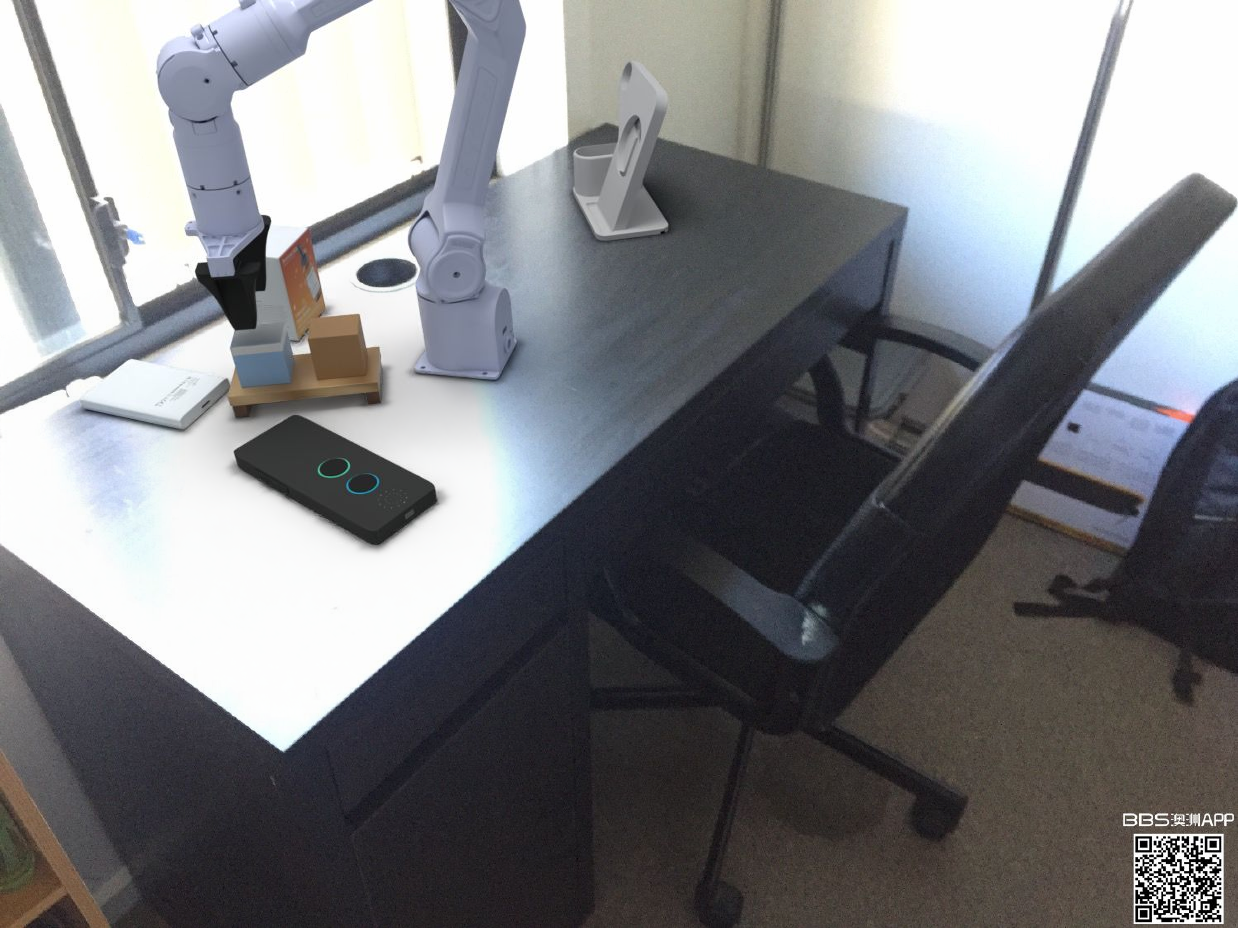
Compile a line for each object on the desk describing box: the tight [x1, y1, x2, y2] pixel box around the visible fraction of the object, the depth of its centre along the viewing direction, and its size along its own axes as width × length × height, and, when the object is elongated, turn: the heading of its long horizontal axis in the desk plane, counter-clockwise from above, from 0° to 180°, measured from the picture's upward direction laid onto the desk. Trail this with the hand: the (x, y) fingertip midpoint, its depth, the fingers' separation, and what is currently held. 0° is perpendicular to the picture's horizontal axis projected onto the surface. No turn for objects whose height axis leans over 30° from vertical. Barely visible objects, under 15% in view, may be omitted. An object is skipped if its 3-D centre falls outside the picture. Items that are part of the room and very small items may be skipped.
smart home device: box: [233, 414, 438, 545], centre depth 99 cm, size 8×2×20 cm
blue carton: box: [229, 322, 295, 388], centre depth 108 cm, size 5×4×5 cm
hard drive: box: [79, 358, 231, 430], centre depth 111 cm, size 2×8×12 cm
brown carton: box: [307, 313, 367, 380], centre depth 109 cm, size 5×4×5 cm
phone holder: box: [572, 59, 669, 242], centre depth 140 cm, size 17×10×18 cm, turn 14°
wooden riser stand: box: [227, 346, 384, 419], centre depth 111 cm, size 15×7×3 cm, turn 99°
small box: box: [256, 224, 327, 341], centre depth 120 cm, size 8×6×10 cm
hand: (250, 308), depth 105 cm, fingers open, 7 cm apart
